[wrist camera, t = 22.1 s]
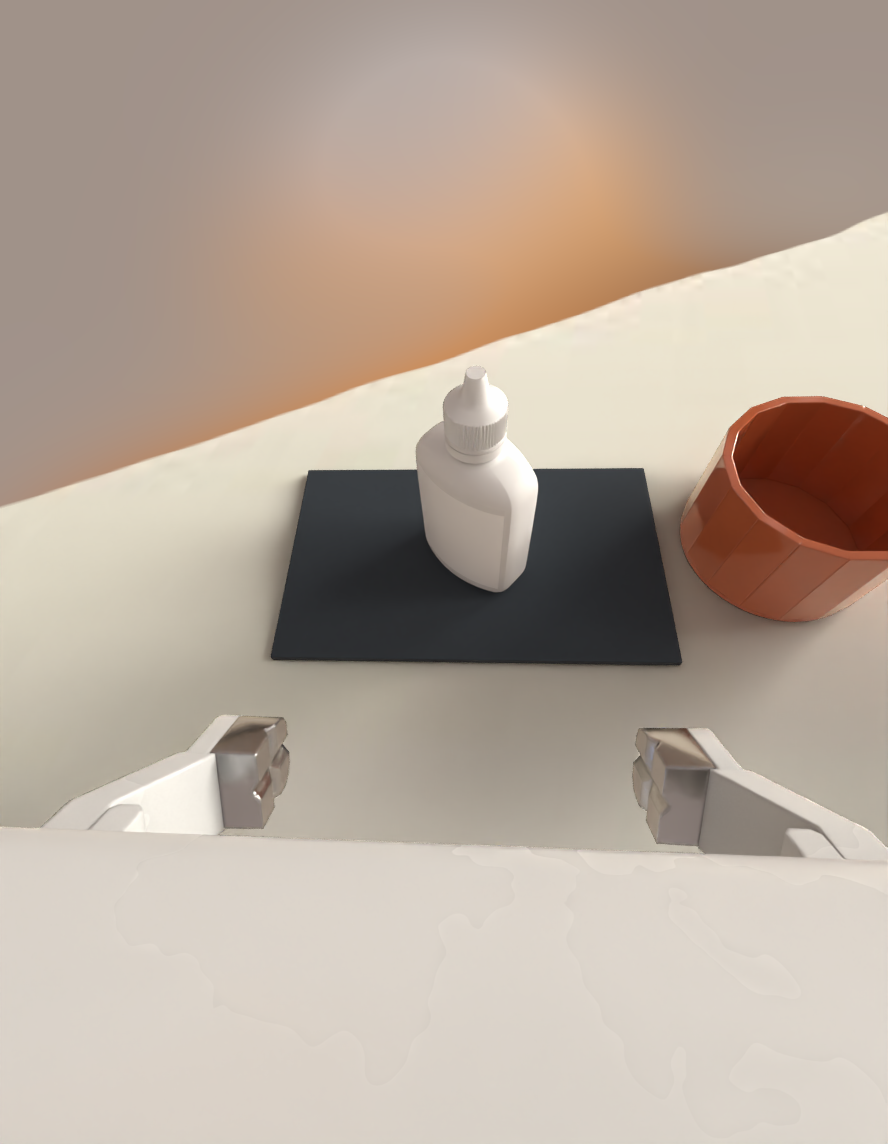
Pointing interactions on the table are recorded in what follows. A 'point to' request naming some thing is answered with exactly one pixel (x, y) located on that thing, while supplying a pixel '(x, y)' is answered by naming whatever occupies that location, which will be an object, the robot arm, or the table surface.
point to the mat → (461, 610)
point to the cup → (793, 509)
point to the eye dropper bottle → (476, 487)
